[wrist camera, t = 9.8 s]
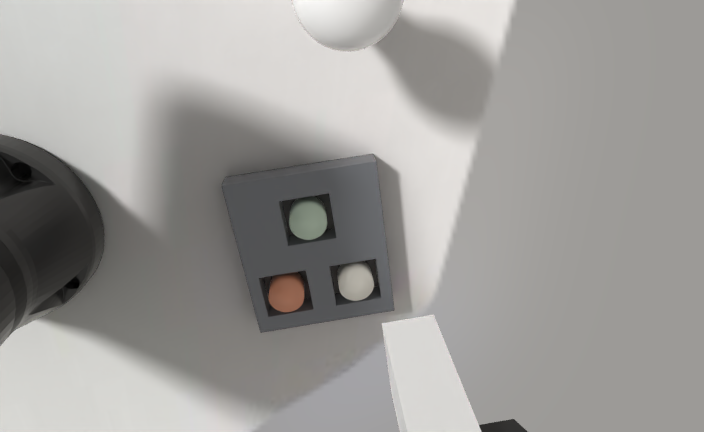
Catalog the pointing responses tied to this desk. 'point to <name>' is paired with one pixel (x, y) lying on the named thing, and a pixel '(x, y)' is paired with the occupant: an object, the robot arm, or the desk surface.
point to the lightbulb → (347, 21)
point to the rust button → (286, 292)
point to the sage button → (308, 218)
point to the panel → (317, 254)
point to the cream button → (355, 280)
